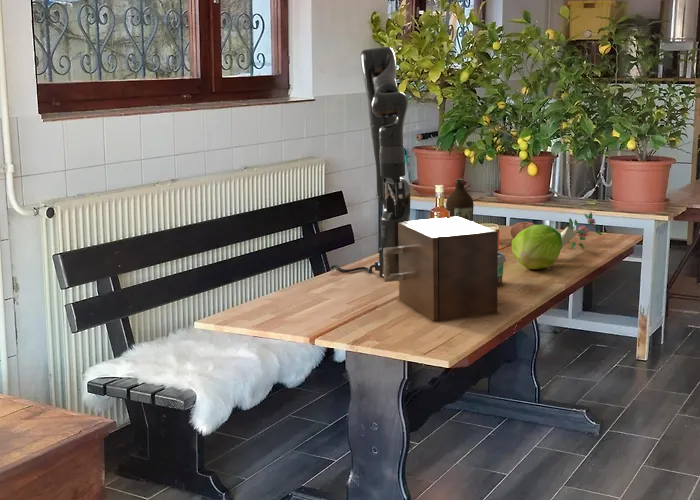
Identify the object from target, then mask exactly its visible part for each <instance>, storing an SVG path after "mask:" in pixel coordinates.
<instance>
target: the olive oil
mask: <svg viewBox="0 0 700 500" xmlns="http://www.w3.org/2000/svg"><path fill="white" fill-rule="evenodd" d="M464 181H465V179H464V178H455V182H454V186H455V188H454V190H453V191H452V192H451V193H450V194H449V196H447V199H446V202H445V209H446V208H447V209H448V210H449V211H450V217H460V218H463V219H465V220H468V221H471V222H474V205H475V204H474V200H473V197H472V196H471V195H470V194H469V192H467V190H466V189H465V182H464Z"/></svg>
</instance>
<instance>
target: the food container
mask: <svg viewBox="0 0 700 500" xmlns="http://www.w3.org/2000/svg"><path fill="white" fill-rule="evenodd" d="M506 261H507V259H506V255H505V253H504V252H503V251H499V250H498V278H497V288H500V287H501V286H503V275H504V274H503V273H504V265H505V264H504V263H505V262H506Z"/></svg>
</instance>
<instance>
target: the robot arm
mask: <svg viewBox="0 0 700 500" xmlns="http://www.w3.org/2000/svg"><path fill="white" fill-rule="evenodd" d="M360 65H361V72H362V77H363V83H364V89H365V94H366V99H367V108H368V119H369V127H370V136H371V141H372V148H373V157H374V161H375V172H376V174H375V175H376V196H377V198H378V201H379V202H380V203H381V204H382V205H383V211H382V215H381V217H380V247H379V249H378V259H377V261H374V264H372V265H371V264H370V266H369V267H367V266H358V267H354V268H347V269H344V268H341V267H340V266H339V265H337V264H333V265H331V266H330V267H329V269H330V270H333V269H334V268H335V269H336V270H338V271H339V272H342V273H351V272H357V271H361V270H362V271H363V270H364V271H367V273H368V274H371V273H373V268H374V271H375V272H379V274H378V275H379V277H381V278H384V257H383V248H389V247H398V223H399V222H405V221H410V216H411V187H410V184H409V183H408V181H407V180H406V179H405V178H404V177H405V176H406V153H405V152H406V151H405V147H404V124H405V119H406V114H407V110H408V106H409V101H408V97H407V95H406V94H405V93H404V92H401V91H399V87H398V83H397V74H398V73H397V72H398V71H397V59H396V55H395V52H394V50H393V48H391V47H390V46H380V47H373V48H367V49H363V50H362V51H361V53H360ZM374 79H375V80H374ZM397 273H399V254H391V255H390V274H397Z"/></svg>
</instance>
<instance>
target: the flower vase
mask: <svg viewBox="0 0 700 500" xmlns="http://www.w3.org/2000/svg"><path fill="white" fill-rule="evenodd" d="M583 215H584V218H586V220H587V225H580V226H578V225H579V223H578V221H577V219H574V221H573V219H572V218H571V217H569V219H568V223H569V225H570V226H564V229H563V230H562V231H561V232H559V233H560V234H561V238H562V248H563V247H565V246H566V245H567V244H569V243H570V242H571V240H572V239H575V240H578V239H579V240H580V241H586V239H587V238H586V236H589V229H590V227H589V226H591V227H592V226H594V227H593V228H592V230H594V229H597V228H600V226H599V225H596V219H595V218H594V217H593V213H592V211H590V213H589V214H586V213H584V214H583ZM573 224H574V226H573ZM577 226H578V227H577ZM575 227H577V229H576V231H575ZM595 232H596V234H598V235H599V236H602V235H603V234H602V232H601V231H600V230H599V229H597V230H595ZM576 236H577V237H579V238H577V237H576ZM577 244H578V246H579V247H580V248H582V249H585V246H584V244H583V243H582V242H580V243H579V242H577V243H576V242H575V241H572V243H571V246H570V249H571V250H572V249H573V248H575V246H576V245H577Z"/></svg>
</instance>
